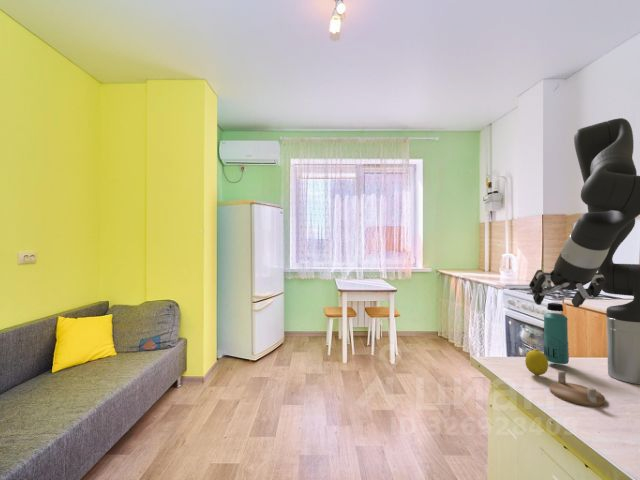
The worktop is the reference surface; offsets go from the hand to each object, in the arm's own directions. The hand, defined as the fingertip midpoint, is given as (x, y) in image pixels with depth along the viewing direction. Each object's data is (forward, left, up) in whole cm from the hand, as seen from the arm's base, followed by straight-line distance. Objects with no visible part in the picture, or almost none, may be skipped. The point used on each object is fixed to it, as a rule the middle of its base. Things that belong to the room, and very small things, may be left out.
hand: (555, 303), depth 80 cm
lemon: (-12, -5, -24) cm, 27 cm away
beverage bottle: (-26, -1, -24) cm, 35 cm away
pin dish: (-4, +4, -24) cm, 25 cm away
